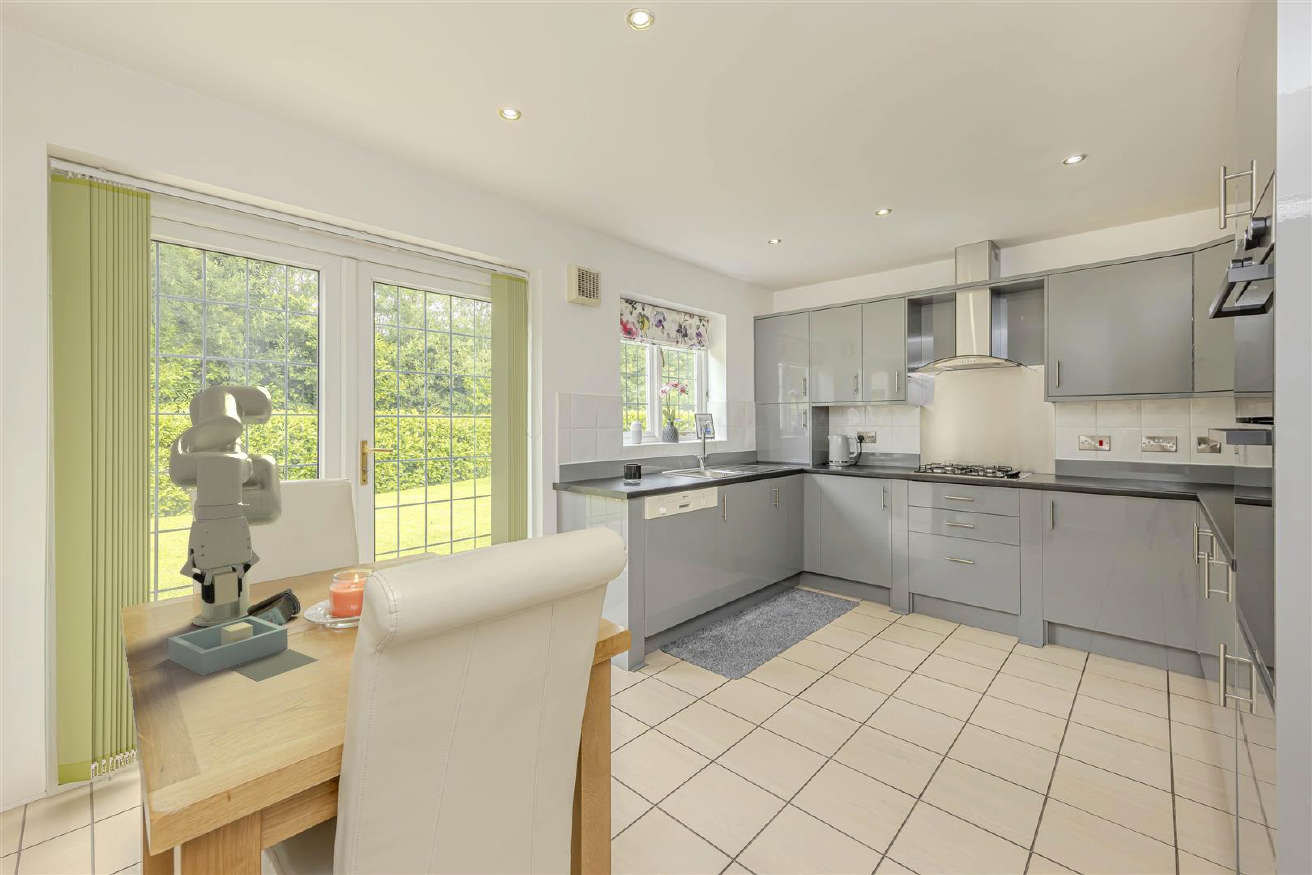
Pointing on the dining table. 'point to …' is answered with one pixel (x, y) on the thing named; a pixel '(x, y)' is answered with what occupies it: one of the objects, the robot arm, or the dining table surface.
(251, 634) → the stone
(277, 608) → the dark piece
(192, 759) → the dining table surface
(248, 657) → the blue bin
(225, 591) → the stone
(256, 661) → the dark mat
